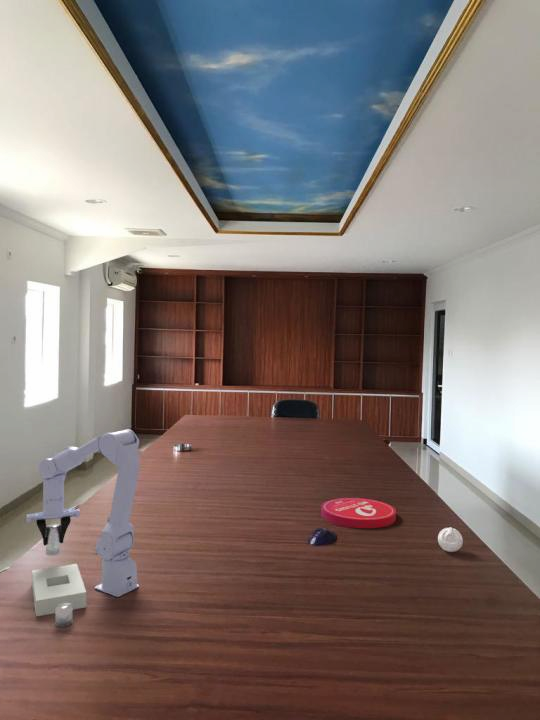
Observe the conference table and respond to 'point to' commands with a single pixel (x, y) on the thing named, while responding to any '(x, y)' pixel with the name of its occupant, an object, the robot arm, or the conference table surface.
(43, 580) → the pin board
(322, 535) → the computer mouse
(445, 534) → the white ball
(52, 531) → the tall pin
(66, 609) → the short pin
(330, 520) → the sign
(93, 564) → the conference table surface
